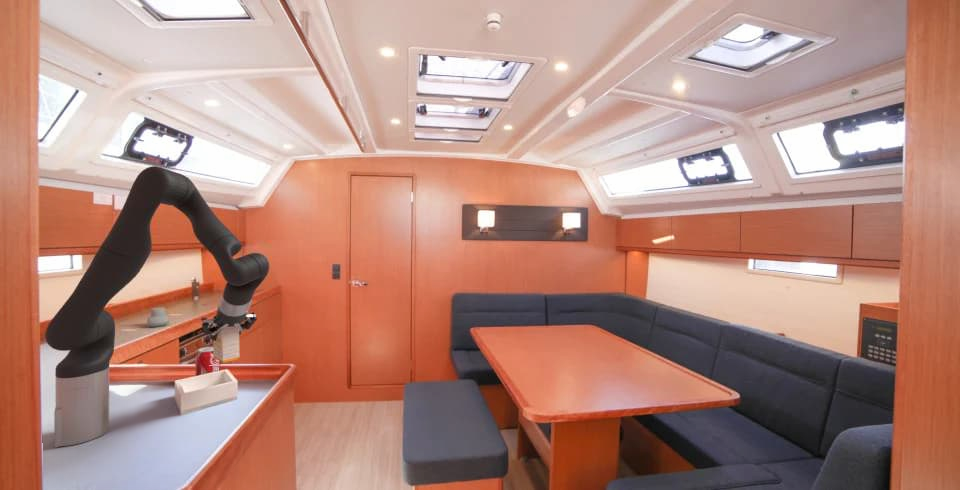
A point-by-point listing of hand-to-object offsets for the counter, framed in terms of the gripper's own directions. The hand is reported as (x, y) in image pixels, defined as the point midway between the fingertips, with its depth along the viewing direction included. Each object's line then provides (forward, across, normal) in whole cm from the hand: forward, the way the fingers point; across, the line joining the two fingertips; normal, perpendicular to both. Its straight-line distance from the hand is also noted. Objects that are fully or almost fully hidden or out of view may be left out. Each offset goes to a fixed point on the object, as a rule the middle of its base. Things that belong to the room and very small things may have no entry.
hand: (224, 336), depth 108 cm
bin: (+21, +3, +10) cm, 23 cm away
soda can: (+32, 0, -1) cm, 32 cm away
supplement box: (+4, 0, +6) cm, 7 cm away
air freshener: (+110, +6, -78) cm, 135 cm away
